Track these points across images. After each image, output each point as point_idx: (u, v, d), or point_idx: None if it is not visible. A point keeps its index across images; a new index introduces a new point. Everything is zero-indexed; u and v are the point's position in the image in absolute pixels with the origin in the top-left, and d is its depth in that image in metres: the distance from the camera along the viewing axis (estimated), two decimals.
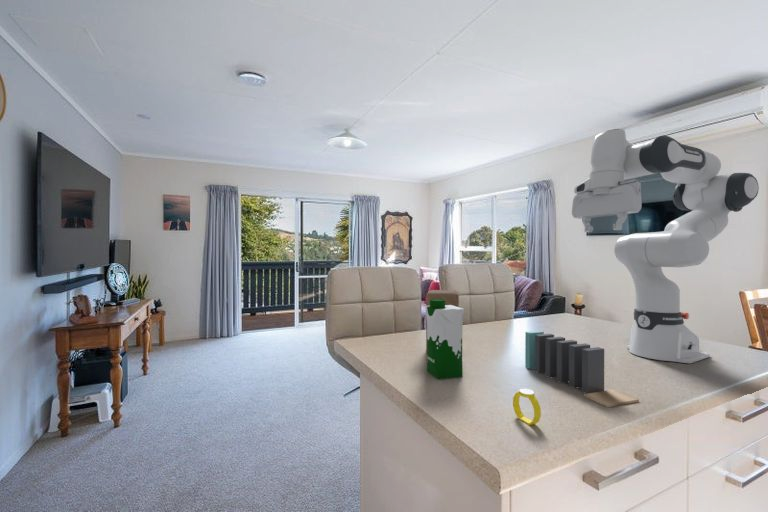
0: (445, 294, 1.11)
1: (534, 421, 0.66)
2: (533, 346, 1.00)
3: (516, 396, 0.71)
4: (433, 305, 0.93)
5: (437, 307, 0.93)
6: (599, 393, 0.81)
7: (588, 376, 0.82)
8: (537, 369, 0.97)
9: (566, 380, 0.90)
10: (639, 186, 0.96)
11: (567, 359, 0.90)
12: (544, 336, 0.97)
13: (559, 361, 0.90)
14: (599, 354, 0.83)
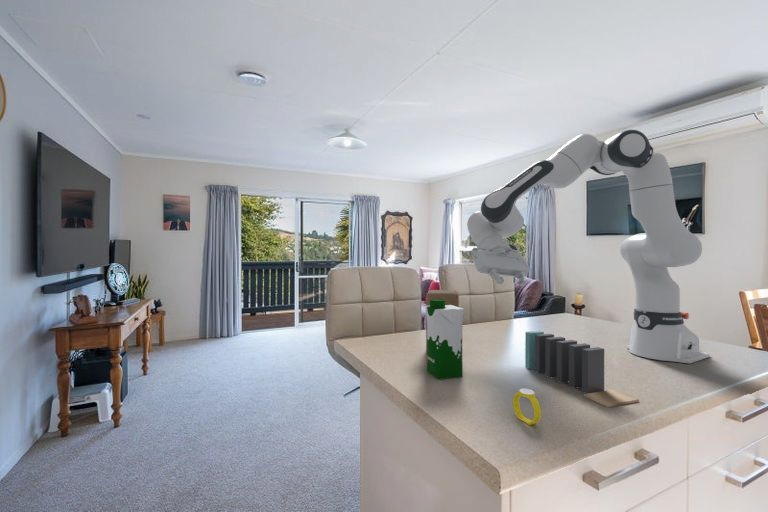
0: (445, 294, 1.11)
1: (534, 421, 0.66)
2: (533, 346, 1.00)
3: (516, 396, 0.71)
4: (433, 305, 0.93)
5: (437, 307, 0.93)
6: (599, 393, 0.81)
7: (588, 376, 0.82)
8: (537, 369, 0.97)
9: (566, 380, 0.90)
10: (472, 253, 1.13)
11: (567, 359, 0.90)
12: (544, 336, 0.97)
13: (559, 361, 0.90)
14: (599, 354, 0.83)
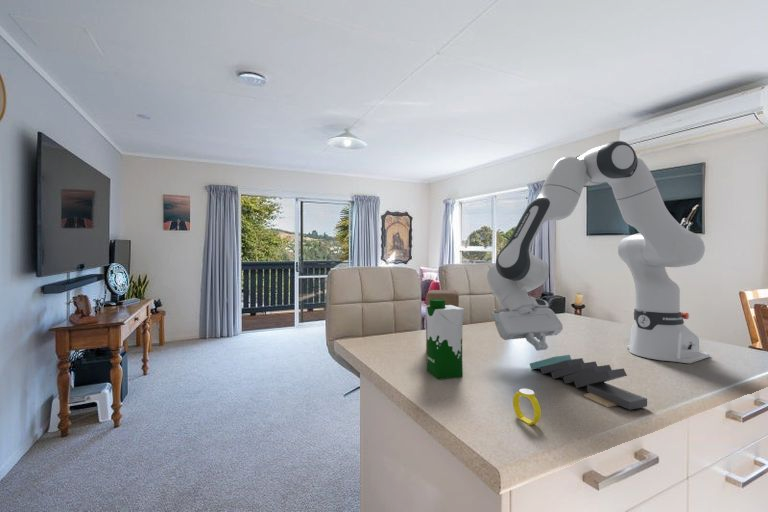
0: (445, 294, 1.11)
1: (534, 421, 0.66)
2: None
3: (516, 396, 0.71)
4: (433, 305, 0.93)
5: (437, 307, 0.93)
6: None
7: (603, 398, 0.78)
8: (542, 370, 0.95)
9: (571, 382, 0.88)
10: (493, 317, 1.03)
11: None
12: None
13: (579, 376, 0.84)
14: None
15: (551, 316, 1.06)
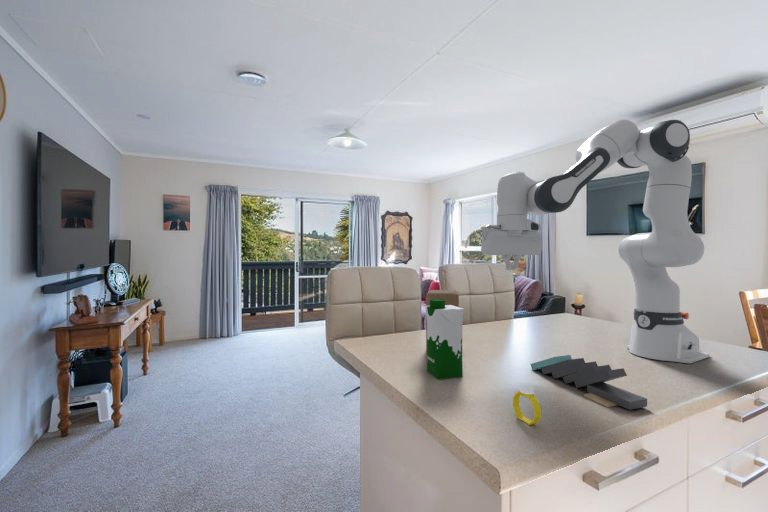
0: (445, 294, 1.11)
1: (534, 421, 0.66)
2: None
3: (516, 396, 0.71)
4: (433, 305, 0.93)
5: (437, 307, 0.93)
6: None
7: (603, 398, 0.78)
8: (543, 370, 0.95)
9: (571, 382, 0.88)
10: (483, 232, 1.08)
11: None
12: None
13: (579, 376, 0.84)
14: None
15: (536, 241, 1.11)
